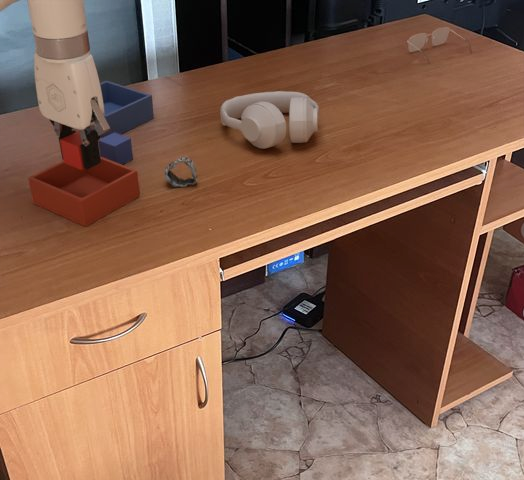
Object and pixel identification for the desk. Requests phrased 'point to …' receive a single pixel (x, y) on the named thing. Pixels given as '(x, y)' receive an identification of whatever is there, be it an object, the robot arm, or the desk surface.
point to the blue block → (116, 148)
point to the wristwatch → (178, 181)
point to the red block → (72, 150)
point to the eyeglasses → (436, 39)
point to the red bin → (84, 190)
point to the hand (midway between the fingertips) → (81, 160)
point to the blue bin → (124, 107)
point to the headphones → (271, 117)
